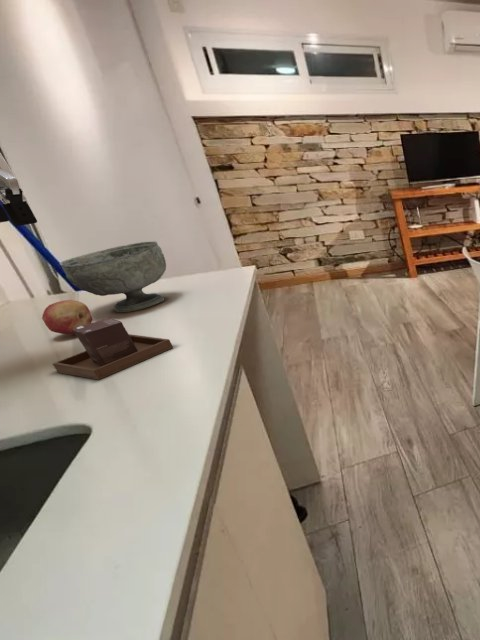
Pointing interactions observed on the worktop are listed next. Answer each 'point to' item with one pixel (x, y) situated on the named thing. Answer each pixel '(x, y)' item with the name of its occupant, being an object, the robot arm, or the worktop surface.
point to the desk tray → (90, 369)
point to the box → (105, 340)
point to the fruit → (66, 316)
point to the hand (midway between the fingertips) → (11, 223)
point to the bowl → (119, 273)
